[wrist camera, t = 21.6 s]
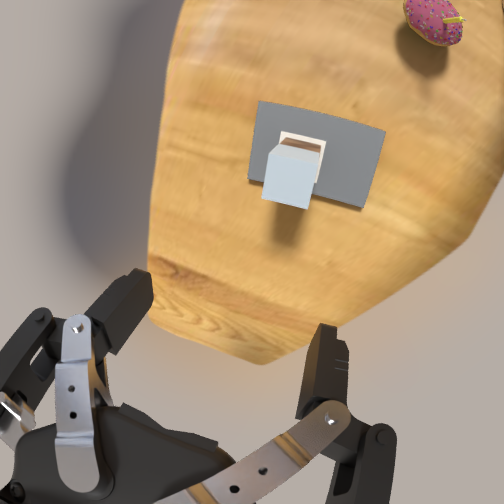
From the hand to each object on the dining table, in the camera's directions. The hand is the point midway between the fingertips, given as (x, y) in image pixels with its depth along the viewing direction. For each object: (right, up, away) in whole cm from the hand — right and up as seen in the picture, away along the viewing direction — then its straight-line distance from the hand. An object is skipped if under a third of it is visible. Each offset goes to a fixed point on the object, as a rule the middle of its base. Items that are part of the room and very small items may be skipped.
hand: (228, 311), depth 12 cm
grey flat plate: (+10, +17, +25) cm, 32 cm away
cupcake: (+25, +35, +10) cm, 44 cm away
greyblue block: (+6, +13, +20) cm, 25 cm away
